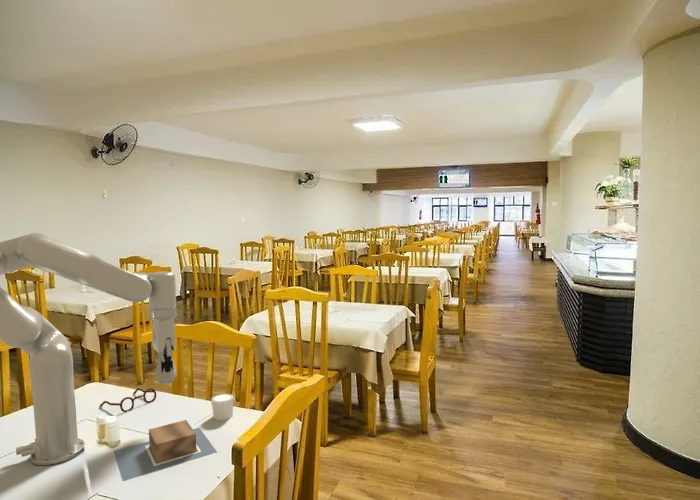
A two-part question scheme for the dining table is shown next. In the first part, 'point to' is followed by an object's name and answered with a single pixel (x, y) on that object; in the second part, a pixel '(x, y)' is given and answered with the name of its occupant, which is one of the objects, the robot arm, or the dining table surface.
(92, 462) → the dining table surface
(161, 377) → the salt shaker
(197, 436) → the board
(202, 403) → the dining table surface
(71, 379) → the robot arm
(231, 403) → the white rounded cylinder
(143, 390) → the glasses
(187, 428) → the walnut block
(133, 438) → the dining table surface
